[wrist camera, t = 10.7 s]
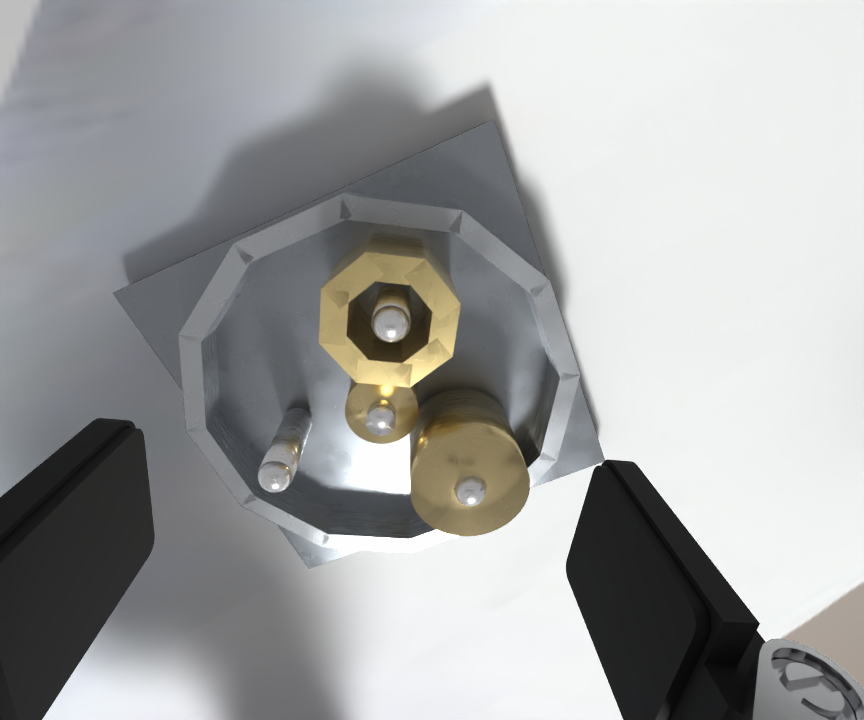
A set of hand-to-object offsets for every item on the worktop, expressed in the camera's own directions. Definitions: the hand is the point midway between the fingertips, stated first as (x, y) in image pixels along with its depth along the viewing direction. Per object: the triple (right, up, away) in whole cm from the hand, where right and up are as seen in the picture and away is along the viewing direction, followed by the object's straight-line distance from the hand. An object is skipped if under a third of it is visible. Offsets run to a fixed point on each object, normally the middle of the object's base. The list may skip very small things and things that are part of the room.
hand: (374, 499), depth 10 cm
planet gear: (-1, +6, +14) cm, 16 cm away
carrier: (-2, +2, +18) cm, 18 cm away
